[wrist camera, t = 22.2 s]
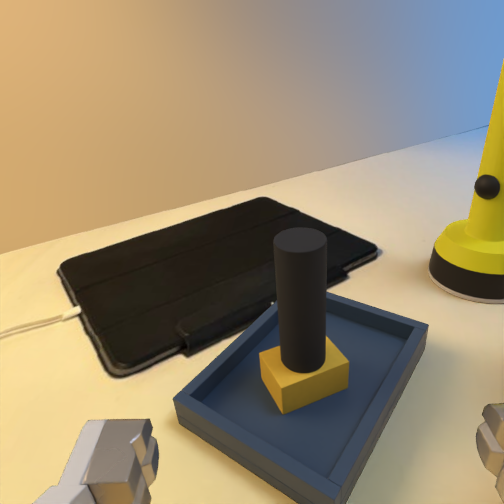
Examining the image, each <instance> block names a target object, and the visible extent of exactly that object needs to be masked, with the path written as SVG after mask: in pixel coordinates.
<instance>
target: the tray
mask: <svg viewBox="0 0 504 504" xmlns="http://www.w3.org/2000/svg"><path fill="white" fill-rule="evenodd" d="M428 326H429V325H428V324H425V323H422V322H419V321H416V320H413V319H410V318H407V317H403V316H400V315H397V314H394V313H391V312H388V311H385V310H382V309H379V308H376V307H372V306H369V305H366V304H363V303H360V302H357V301H354V300H351V299H348V298H345V297H341V296H338V295H335V294H332V293H329V292H326V336H327V337H328V338H329V339H330V341H331V342H332V343H333V344H334V345H335V346H336V347H337V348H338V349H339V351H340V352H341V353H342V354H343V355H344V356H345V357H346V358H347V360H348V361H349V376H348V388H347V389H344V390H342V391H339V392H337V393H335V394H332V395H330V396H327V397H325V398H323V399H320V400H318V401H315V402H313V403H311V404H308V405H306V406H303V407H301V408H299V409H296V410H294V411H291V412H289V413H287V414H284V415H283V414H282V412H281V411H280V409H279V407H278V406H277V404H276V402H275V401H274V399H273V397H272V395H271V394H270V392H269V390H268V389H267V387H266V385H265V384H264V382H263V380H262V378H261V368H260V357H259V353H260V352H263V351H266V350H269V349H272V348H274V347H277V346H280V338H279V322H278V306H277V301H276V302H275V303H274V304H273V305H272V306H271V307H270V308H269V309H268V310H266V311H265V312H264V313H263V314H262V315H261V316H260V317H259V318H258V319H257V320H256V321H255V322H254V323H253V324H252V325H250V326H249V327H248V328H247V329H246V330H245V331H244V332H243V333H242V334H241V335H240V336H239V337H238V338H237V339H236V340H235V341H233V342H232V343H231V344H230V345H229V346H228V347H227V348H226V349H225V350H224V351H223V352H222V353H221V354H220V355H219V356H217V357H216V358H215V359H214V360H213V361H212V362H211V363H210V364H209V365H208V366H207V367H206V368H205V369H204V370H203V371H201V372H200V373H199V374H198V375H197V376H196V377H195V378H194V379H193V380H192V381H191V382H190V383H189V384H188V385H187V386H185V387H184V388H183V389H182V391H180V392H179V393H178V394H177V395H176V396H175V397H174V398H173V402H174V406H175V409H176V413H177V417H178V421H179V424H181V425H182V426H184V427H185V428H187V429H188V430H190V431H191V432H193V433H194V434H196V435H197V436H199V437H200V438H202V439H203V440H205V441H206V442H208V443H209V444H211V445H212V446H214V447H215V448H217V449H218V450H220V451H221V452H223V453H224V454H226V455H227V456H229V457H230V458H232V459H233V460H235V461H236V462H238V463H239V464H240V465H242V466H243V467H245V468H246V469H248V470H249V471H251V472H252V473H254V474H255V475H257V476H258V477H260V478H261V479H263V480H264V481H266V482H267V483H269V484H270V485H272V486H273V487H275V488H276V489H278V490H279V491H281V492H282V493H284V494H285V495H287V496H288V497H290V498H291V499H293V500H294V501H296V502H297V503H299V504H346V502H347V500H348V498H349V496H350V494H351V492H352V490H353V488H354V486H355V484H356V482H357V480H358V478H359V476H360V474H361V472H362V470H363V468H364V466H365V465H366V463H367V461H368V459H369V457H370V455H371V453H372V451H373V449H374V447H375V445H376V443H377V441H378V439H379V437H380V435H381V433H382V431H383V429H384V427H385V425H386V424H387V422H388V420H389V418H390V416H391V414H392V412H393V410H394V408H395V406H396V404H397V402H398V400H399V398H400V396H401V394H402V392H403V390H404V388H405V386H406V384H407V383H408V381H409V379H410V377H411V375H412V373H413V371H414V369H415V367H416V365H417V363H418V361H419V359H420V357H421V355H422V353H423V351H424V349H425V344H426V338H427V332H428Z"/></svg>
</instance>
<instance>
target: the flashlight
mask: <svg viewBox="0 0 504 504" xmlns="http://www.w3.org/2000/svg"><path fill="white" fill-rule="evenodd" d="M474 188H475V190H474V195H473V199H472V204H471V208H470V213H469V217H468V219H465V220H459V221H456V222H453V223H451V224H449V225H448V226H447V227H446V228H445V229H444V231H443V232H442V233H441V235H440V236H439V237H438V238H437V240H436V242H435V244H434V248H433V251H432V255H431V259H430V263H429V266H428V274H429V277H430V278H431V280H432V281H433V282H434V283H435V284H436V285H437V286H438V287H440V288H441V289H443V290H444V291H446V292H448V293H450V294H452V295H455V296H458V297H460V298H463V299H467V300H471V301H475V302H482V303H494V304H498V303H504V60H503V65H502V69H501V74H500V79H499V83H498V87H497V92H496V96H495V101H494V106H493V110H492V114H491V119H490V123H489V128H488V132H487V137H486V141H485V146H484V150H483V155H482V159H481V164H480V168H479V172H478V177H477V180H476V182H475V186H474Z"/></svg>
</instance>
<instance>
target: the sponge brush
mask: <svg viewBox="0 0 504 504" xmlns="http://www.w3.org/2000/svg"><path fill="white" fill-rule="evenodd" d="M274 258H275V274H276V290H277V306H278V322H279V338H280V346H277V347H274V348H272V349H269V350H266V351H263V352H260V353H259V357H260V368H261V378H262V380H263V382H264V384H265V385H266V387H267V389H268V390H269V392H270V394H271V395H272V397H273V399H274V401H275V402H276V404H277V406H278V407H279V409H280V411H281V412H282V414H283V415H284V414H287V413H289V412H291V411H294V410H296V409H299V408H301V407H303V406H306V405H308V404H311V403H313V402H315V401H318V400H320V399H323V398H325V397H327V396H330V395H332V394H335V393H337V392H339V391H342V390H344V389H347V388H348V376H349V361H348V360H347V358H346V357H345V356H344V355H343V354H342V353H341V352H340V351H339V349H338V348H337V347H336V346H335V345H334V344H333V343H332V342H331V341H330V339H329V338H328V337H327V336H326V279H327V238H326V236H325V235H324V234H323V233H322V232H320V231H318V230H315V229H311V228H292V229H288V230H284V231H282V232H280V233H279V234H277V235H276V236H275V238H274Z"/></svg>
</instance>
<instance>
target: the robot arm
mask: <svg viewBox="0 0 504 504" xmlns="http://www.w3.org/2000/svg"><path fill="white" fill-rule="evenodd" d="M482 415H483V417H484V419H485V422H484V423H482V424H481V425H480V426H479V427H478V429H477V433H476V443H477V449H478V452H479V455H480V458H481V460H482V462H483V464H484V466H485V468H486V469H487V470H489V471H490V472H491V473H492V474H494V475H495V476H496V477H497V481H496V486H495V488H496V490H497V491H498V493H499V495H500V497H501V499H502V501H503V503H504V403H499V404H488V405H487V406H485V407H484V410H483V413H482ZM152 429H153V427H152V424H151V421H150V419H110V420H109V419H108V420H88V421H87V422H86V423H85V425H84V426H83V427H82V430H81V432H80V434H79V437H78V439H77V441H76V444H75V446H74V448H73V450H72V453H71V455H70V457H69V460H68V462H67V464H66V467H65V469H64V471H63V474H62V476H61V478H60V481H59V483H58V485H57V486H51V487H49V488H48V489H47V490H46V491H45V492H44V493H43V494H42V495H41V496H40V497H39V498H38V499H37V500H36V501H34V502H33V503H32V504H150V502H151V495H150V492H149V489H148V487H149V486H150V485H151V484H152V483H153V482H154V481H155V479H156V475H157V470H158V460H159V451H158V444H157V440H156V439H155V438H154V437H152V436H151V433H152Z"/></svg>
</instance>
